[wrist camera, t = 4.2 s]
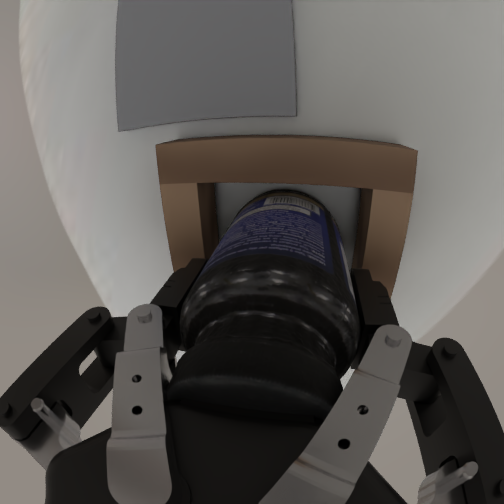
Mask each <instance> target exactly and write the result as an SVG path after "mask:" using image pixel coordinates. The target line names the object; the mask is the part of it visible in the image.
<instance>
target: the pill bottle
mask: <svg viewBox="0 0 504 504" xmlns="http://www.w3.org/2000/svg"><path fill="white" fill-rule="evenodd" d="M180 332H181V339H182V343H183V346H184V349H185V350H186V353H185V354H183V355H182V357H181V358H180V359H179V361H178V362H177V366H176V368H175V370H174V373H173V375H172V378H171V380H170V382H169V385H168V387H167V398H168V400H174V399H182V398H186V399H191V400H196V401H202V402H207V403H212V404H218V405H225V406H231V407H238V408H243V409H252V410H260V411H268V412H277V413H289V414H301V415H314V418H318V419H321V420H324V421H325V419H326V418H327V416H328V414H329V413H330V411H331V410H332V408H333V407H334V405H335V403H336V402H337V400H338V398H339V397H340V395H341V393H342V392H343V387H342V384H341V381H340V379H341V378H342V376H344V374H345V373H346V372H347V371H348V369H349V368H350V366H351V364H352V362H353V361H354V359H355V357H356V355H357V352H358V348H359V344H360V332H361V327H360V320H359V315H358V310H357V306H356V302H355V296H354V292H353V287H352V282H351V278H350V273H349V269H348V264H347V260H346V256H345V252H344V248H343V244H342V240H341V236H340V232H339V229H338V226H337V224H336V222H335V220H334V219H333V217H332V216H331V214H330V212H329V211H328V210H327V209H326V208H325V207H324V206H323V205H322V204H321V203H320V202H318V201H317V200H315V199H314V198H311V197H310V196H308V195H305V194H302V193H299V192H295V191H271V192H268V193H265V194H262V195H260V196H258V197H256V198H254V199H253V200H251V201H250V202H249V203H247V204H246V205H245V206H244V207H243V208H242V209H241V210H240V211H239V212H238V214H237V216H236V217H235V219H234V221H233V222H232V224H231V226H230V227H229V229H228V230H227V232H226V233H225V235H224V237H223V238H222V240H221V241H220V243H219V245H218V246H217V248H216V249H215V251H214V252H213V254H212V256H211V257H210V259H209V261H208V262H207V264H206V265H205V267H204V269H203V270H202V272H201V274H200V275H199V277H198V279H197V280H196V282H195V283H194V285H193V287H192V288H191V290H190V291H189V294H188V295H187V297H186V299H185V300H184V303H183V305H182V310H181V315H180Z"/></svg>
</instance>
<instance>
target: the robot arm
mask: <svg viewBox="0 0 504 504" xmlns="http://www.w3.org/2000/svg"><path fill="white" fill-rule="evenodd" d="M208 261H209V259H204V258H192V259H191V261H190V262H189V263H188V265H187V266H186V267H185V268H180V269H178V270H177V271H175V272H174V273H173V274H172V275H171V276H170V277H169V279H168V281H166V283H165V284H164V285H163V287H162V288H161V289H160V291H159V292H158V293H157V295H156V296H155V297H154V299H153V300H152V301H151V303H150V304H143V305H140V306H137V307H135V308H134V309H132V310H131V311H130V312H129V314H128V316H127V317H111V314H110V312H109V310H108V309H107V308H105V307H95V308H91V309H89V310H88V311H86V312H85V313H84V314H82V315H81V316H80V317H79V318H78V319H77V320H76V321H75V322H74V323H73V324H72V325H71V326H69V327H68V328H67V330H65V331H64V332H63V333H62V334H61V335H60V336H59V337H58V338H57V339H56V340H55V341H54V342H53V343H52V344H51V345H50V346H49V347H48V348H47V349H46V350H45V351H44V352H43V353H42V354H41V355H40V356H39V357H38V358H37V359H36V360H35V361H34V362H33V363H32V364H31V365H30V366H29V367H28V368H27V369H26V370H25V371H24V372H23V373H22V374H21V375H20V377H19V378H18V379H17V380H16V381H15V382H14V383H13V384H12V385H11V386H10V387H9V388H8V390H7V391H6V392H5V393H4V394H3V395H2V396H1V398H0V427H1V428H2V429H3V430H4V431H5V432H7V433H8V434H9V435H10V437H11V438H12V439H13V440H15V441H16V442H17V443H18V444H20V445H21V446H22V447H23V448H25V449H26V450H27V451H28V452H29V453H30V454H31V455H32V457H34V459H35V460H36V461H37V462H38V463H39V464H40V465H41V466H42V467H43V468H44V469H45V470H46V499H45V504H407V503H406V502H405V501H404V499H403V498H402V497H401V496H400V495H399V494H398V493H397V492H396V491H395V490H394V489H393V488H392V487H391V485H390V484H389V483H388V482H387V481H386V480H385V479H384V478H383V477H382V476H381V475H380V473H379V472H378V471H377V470H376V469H375V468H374V467H373V466H372V465H371V463H370V462H369V461H368V460H369V458H370V456H371V454H372V452H373V450H374V448H375V446H376V444H377V442H378V440H379V438H380V436H381V434H382V431H383V429H384V427H385V425H386V423H387V420H388V418H389V416H390V413H391V411H392V408H393V406H394V403H395V401H396V398H397V397H398V398H403V399H406V403H407V406H408V409H409V412H410V415H411V419H412V422H413V426H414V429H415V433H416V436H417V439H418V443H419V447H420V451H421V455H422V459H423V464H424V467H425V472H426V478H425V479H424V480H423V481H422V483H421V485H420V487H419V491H418V503H417V504H504V433H503V430H502V427H501V425H500V422H499V420H498V418H497V415H496V413H495V410H494V408H493V406H492V403H491V401H490V399H489V397H488V395H487V393H486V391H485V389H484V387H483V384H482V382H481V380H480V378H479V377H478V375H477V373H476V371H475V369H474V367H473V365H472V363H471V361H470V360H469V358H468V356H467V354H466V352H465V351H464V349H463V348H462V346H461V345H460V344H459V343H458V342H457V341H455V340H453V339H450V338H440V339H438V340H436V341H435V342H434V344H433V346H432V347H430V346H426V345H422V344H418V343H415V342H413V341H412V338H411V336H410V334H409V333H408V332H407V331H406V330H405V329H404V328H402V327H400V326H399V323H398V320H397V317H396V314H395V311H394V308H393V305H392V302H391V299H390V298H389V294H388V291H387V288H386V287H385V286H384V285H383V284H382V283H381V282H380V281H373V280H372V277H371V274H370V271H369V269H357V268H352V269H351V273H350V278H351V282H352V287H353V292H354V296H355V302H356V306H357V310H358V315H359V320H360V327H361V332H360V344H359V348H358V352H357V355H356V357H355V359H354V361H353V362H352V364H351V369H355V371H354V372H353V374H352V376H351V378H350V379H349V381H348V383H347V385H346V386H345V388H344V390H343V392H342V393H341V395H340V397H339V398H338V400H337V402H336V403H335V405H334V407H333V408H332V410H331V411H330V413H329V414H328V416H327V418H326V419H325V421H324V420H321V419H318V418H314V415H301V414H289V413H277V412H268V411H260V410H252V409H243V408H238V407H231V406H225V405H218V404H212V403H207V402H202V401H196V400H191V399H186V398H182V399H174V400H168V398H167V387H168V385H169V382H170V380H171V378H172V375H173V373H174V370H175V368H176V366H177V359H176V356H175V355H176V353H177V351H178V350H181V351H186V350H185V349H184V346H183V343H182V339H181V332H180V315H181V310H182V305H183V303H184V300H185V299H186V297H187V295H188V294H189V291H190V290H191V288H192V287H193V285H194V283H195V282H196V280H197V279H198V277H199V275H200V274H201V272H202V270H203V269H204V267H205V265H206V264H207V262H208ZM93 350H94V351H95V353H96V355H97V358H96V359H95V360H94V361H93V362H92V363H91V364H90V366H89V367H88V368H87V369H86V370H85V371H84V373H82V375H81V376H80V374H79V366H80V364H81V363H82V362H83V361H84V360H85V359H86V357H87V356H88V355H89V354H90V353H91V352H92V351H93ZM112 388H113V400H112V427H111V428H109V429H107V430H105V431H103V432H101V433H99V434H96V435H95V436H93V437H90V438H88V439H86V440H84V441H82V440H81V438H80V430H81V428H82V427H83V426H84V424H85V423H86V422H87V421H88V419H89V418H90V417H91V415H92V414H93V413H94V411H95V410H96V409H97V408H98V406H99V405H100V404H101V402H102V401H103V400H104V399H105V397H106V396H107V395H108V393H109V392H110V391H111V390H112Z"/></svg>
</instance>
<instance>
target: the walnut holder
mask: <svg viewBox="0 0 504 504" xmlns="http://www.w3.org/2000/svg"><path fill="white" fill-rule="evenodd" d="M417 153H418V151H417V150H414V149H412V148H409V147H406V146H403V145H399V144H393V143H385V142H378V141H369V140H360V139H350V138H338V137H324V136H304V135H234V136H214V137H200V138H188V139H177V140H173V141H169V142H165V143H161V144H157V145H156V155H157V165H158V174H159V182H160V190H161V198H162V205H163V212H164V219H165V225H166V231H167V237H168V243H169V249H170V254H171V260H172V265H173V270H174V272H175V271H177V270H178V269H180V268H185V267H186V266H187V265H188V263H189V262H190V261H191V259H192V258H204V259H210V257H211V256H212V254H213V252H214V251H215V249H216V248H217V246H218V245H219V238H218V226H217V214H216V202H215V188H214V183H287V184H310V185H327V186H342V187H355V188H362V189H361V200H360V210H359V219H358V227H357V235H356V242H355V249H354V255H353V262H352V268H357V269H369V271H370V274H371V277H372V280H373V281H380V282H381V283H382V284H383V285H384V286H385V287H386V288H387V291H388V294H389V298H390V299H391V295H392V292H393V288H394V284H395V281H396V277H397V273H398V269H399V265H400V261H401V257H402V252H403V248H404V243H405V238H406V233H407V228H408V223H409V217H410V211H411V205H412V198H413V191H414V183H415V174H416V165H417ZM352 268H351V269H352Z"/></svg>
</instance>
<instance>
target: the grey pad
mask: <svg viewBox="0 0 504 504" xmlns="http://www.w3.org/2000/svg"><path fill="white" fill-rule="evenodd" d="M115 81H116V106H117V121H118V132H121V131H126V130H131V129H137V128H142V127H148V126H154V125H161V124H168V123H175V122H183V121H192V120H202V119H214V118H228V117H249V116H297V108H296V71H295V47H294V29H293V14H292V1H291V0H118V11H117V24H116V48H115Z"/></svg>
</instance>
